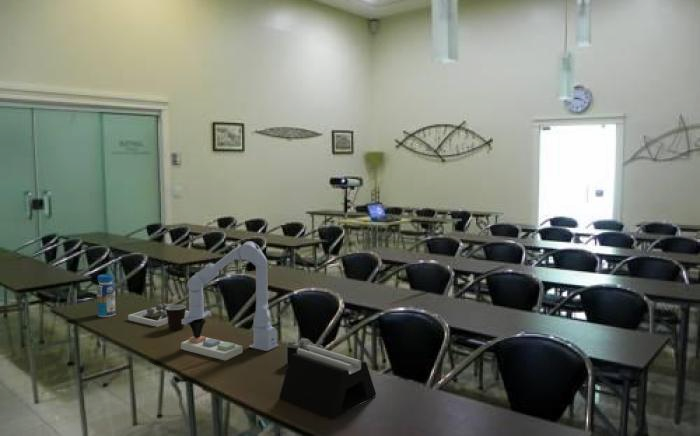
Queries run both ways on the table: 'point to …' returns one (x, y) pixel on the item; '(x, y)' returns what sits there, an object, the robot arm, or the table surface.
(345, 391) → the device stand
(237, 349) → the keypad
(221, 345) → the sage key
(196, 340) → the terracotta key
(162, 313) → the molecule model
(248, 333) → the table surface
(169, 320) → the coffee mug
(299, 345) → the camera
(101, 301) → the beverage bottle
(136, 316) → the display tray
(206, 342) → the slate key
